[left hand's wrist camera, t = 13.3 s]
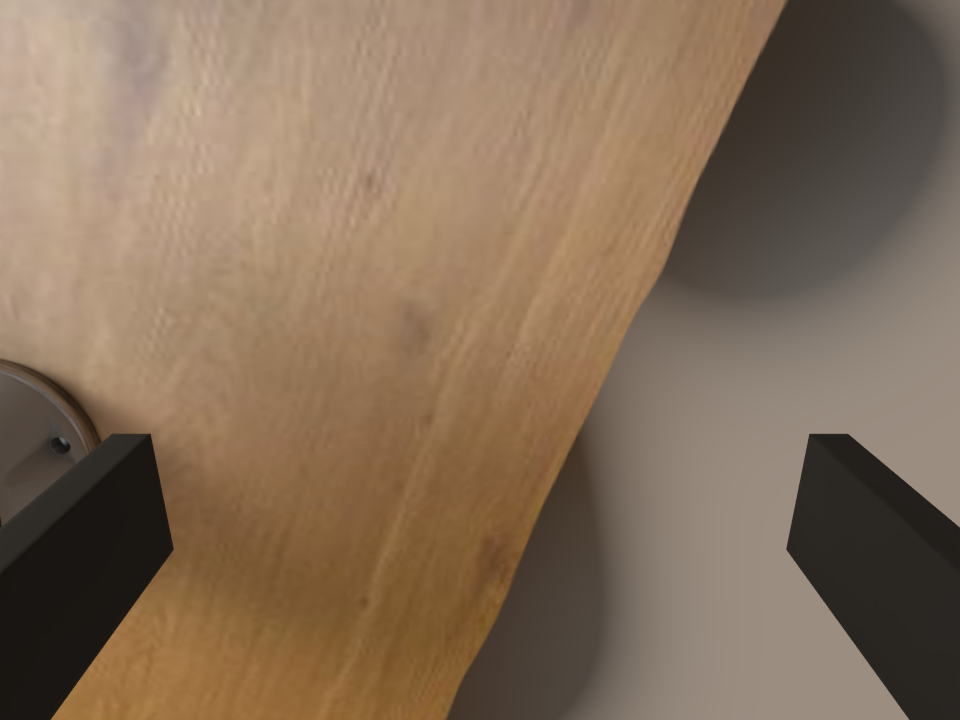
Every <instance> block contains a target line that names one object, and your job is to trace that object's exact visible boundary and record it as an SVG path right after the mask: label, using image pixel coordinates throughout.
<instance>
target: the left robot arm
mask: <svg viewBox="0 0 960 720" xmlns="http://www.w3.org/2000/svg"><path fill="white" fill-rule="evenodd" d="M173 550H174V549H173V544H172V539H171V534H170V529H169V524H168V519H167V514H166V509H165V504H164V499H163V494H162V489H161V484H160V479H159V474H158V469H157V464H156V459H155V454H154V449H153V444H152V439H151V434H111V435H110V436H109V437H108V438H107V439H105V440H104V441H103V442H102V443H101V444H100V443H99V440H98V437H97V435H96V433H95V431H94V429H93V427H92V425H91V423H90V421H89V420H88V418H87V417H86V415H85V414H84V413H83V411H82V410H81V409H80V408H79V406H78V405H77V404H76V403H75V402H74V401H73V400H72V399H71V398H70V397H69V396H68V395H67V394H66V393H65V392H64V391H63V390H61V389H60V388H59V387H58V386H56V385H55V384H54V383H52V382H51V381H49V380H48V379H46V378H45V377H43V376H41V375H39V374H38V373H36V372H34V371H32V370H30V369H27V368H25V367H23V366H20V365H17V364H14V363H11V362H8V361H4V360H0V720H51V718H52V717H53V716H54V714H55V713H56V712H57V710H58V709H59V707H60V706H61V705H62V703H63V702H64V700H65V699H66V698H67V696H68V695H69V694H70V692H71V691H72V689H73V688H74V687H75V685H76V684H77V682H78V681H79V680H80V678H81V677H82V676H83V674H84V673H85V671H86V670H87V669H88V667H89V666H90V664H91V663H92V662H93V660H94V659H95V658H96V656H97V655H98V653H99V652H100V651H101V649H102V648H103V647H104V645H105V644H106V642H107V641H108V640H109V638H110V637H111V635H112V634H113V633H114V631H115V630H116V629H117V627H118V626H119V624H120V623H121V622H122V620H123V619H124V617H125V616H126V615H127V613H128V612H129V611H130V609H131V608H132V606H133V605H134V604H135V602H136V601H137V599H138V598H139V597H140V595H141V594H142V593H143V591H144V590H145V588H146V587H147V586H148V584H149V583H150V581H151V580H152V579H153V577H154V576H155V575H156V573H157V572H158V570H159V569H160V568H161V566H162V565H163V564H164V562H165V561H166V559H167V558H168V557H169V555H170V554H171V552H172V551H173ZM786 550H787V551H788V552H789V554H790V555H791V557H792V558H793V559H794V561H795V562H796V564H797V565H798V566H799V568H800V569H801V570H802V572H803V573H804V575H805V576H806V577H807V579H808V580H809V581H810V583H811V584H812V586H813V587H814V588H815V590H816V591H817V592H818V594H819V595H820V597H821V598H822V599H823V601H824V602H825V604H826V605H827V606H828V608H829V609H830V611H831V612H832V613H833V615H834V616H835V617H836V619H837V620H838V622H839V623H840V624H841V626H842V627H843V629H844V630H845V631H846V633H847V634H848V635H849V637H850V638H851V640H852V641H853V642H854V644H855V645H856V647H857V648H858V649H859V651H860V652H861V653H862V655H863V656H864V658H865V659H866V660H867V662H868V663H869V664H870V666H871V667H872V669H873V670H874V671H875V673H876V674H877V676H878V677H879V678H880V680H881V681H882V682H883V684H884V685H885V687H886V688H887V689H888V691H889V692H890V694H891V695H892V696H893V698H894V699H895V700H896V702H897V703H898V705H899V706H900V707H901V709H902V710H903V711H904V713H905V714H906V716H907V717H908V718H909V720H960V527H958V526H957V525H956V524H955V523H954V522H952V521H951V520H950V519H949V518H948V517H947V516H945V515H944V514H943V513H942V512H941V511H939V510H938V509H937V508H936V507H935V506H933V505H932V504H931V503H930V502H929V501H927V500H926V499H925V498H924V497H923V496H921V495H920V494H919V493H918V492H917V491H915V490H914V489H913V488H912V487H911V486H910V485H908V484H907V483H906V482H905V481H904V480H902V479H901V478H900V477H899V476H898V475H896V474H895V473H894V472H893V471H892V470H890V469H889V468H888V467H887V466H886V465H884V464H883V463H882V462H881V461H880V460H878V459H877V458H876V457H875V456H874V455H873V454H871V453H870V452H869V451H868V450H867V449H865V448H864V447H863V446H862V445H861V444H859V443H858V442H857V441H856V440H855V439H853V438H852V437H851V436H850V435H849V434H809V439H808V444H807V449H806V454H805V459H804V464H803V469H802V474H801V479H800V484H799V489H798V494H797V499H796V504H795V509H794V514H793V519H792V524H791V529H790V534H789V539H788V544H787V549H786Z"/></svg>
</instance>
